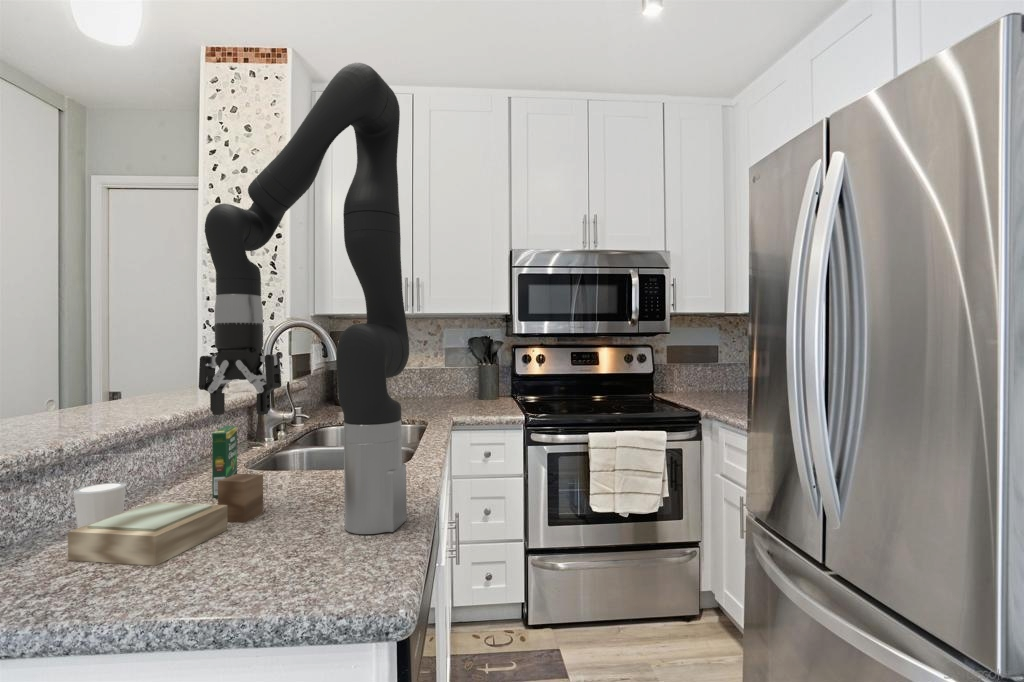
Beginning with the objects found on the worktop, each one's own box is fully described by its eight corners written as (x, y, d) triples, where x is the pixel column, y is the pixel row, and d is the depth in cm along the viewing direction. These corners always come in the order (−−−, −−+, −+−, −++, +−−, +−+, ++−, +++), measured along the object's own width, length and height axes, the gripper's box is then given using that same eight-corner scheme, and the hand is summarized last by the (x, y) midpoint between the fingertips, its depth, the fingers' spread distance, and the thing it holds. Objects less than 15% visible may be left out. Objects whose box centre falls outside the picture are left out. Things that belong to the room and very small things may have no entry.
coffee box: (227, 497, 103) (226, 431, 103) (211, 498, 103) (210, 432, 103) (238, 486, 111) (238, 425, 111) (223, 487, 111) (223, 426, 111)
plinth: (227, 529, 85) (227, 502, 85) (155, 565, 71) (155, 533, 71) (152, 526, 87) (151, 499, 87) (68, 560, 73) (68, 528, 73)
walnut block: (263, 513, 93) (262, 474, 93) (244, 523, 88) (244, 481, 88) (237, 512, 94) (237, 473, 94) (218, 521, 89) (217, 480, 89)
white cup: (130, 520, 90) (130, 479, 90) (120, 533, 84) (120, 489, 84) (81, 526, 87) (80, 484, 87) (66, 540, 81) (66, 495, 81)
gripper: (289, 321, 94) (290, 411, 94) (218, 323, 96) (219, 411, 96) (262, 319, 86) (264, 417, 86) (186, 322, 89) (187, 417, 88)
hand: (240, 414), depth 91 cm, fingers open, 8 cm apart
